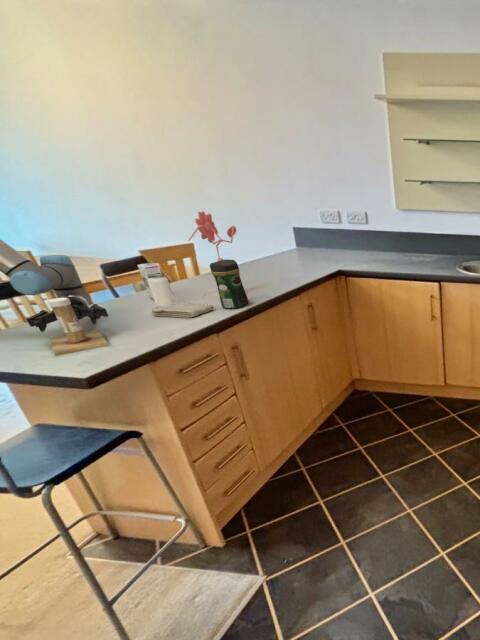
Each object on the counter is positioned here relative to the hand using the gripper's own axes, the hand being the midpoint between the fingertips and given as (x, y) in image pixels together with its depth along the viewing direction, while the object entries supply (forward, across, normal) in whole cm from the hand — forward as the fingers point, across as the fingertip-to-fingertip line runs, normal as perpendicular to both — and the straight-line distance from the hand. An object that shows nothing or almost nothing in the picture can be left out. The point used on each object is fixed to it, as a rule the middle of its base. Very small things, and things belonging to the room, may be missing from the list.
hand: (67, 323), depth 126 cm
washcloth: (-23, -29, -8) cm, 38 cm away
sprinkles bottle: (-4, 0, -7) cm, 8 cm away
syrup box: (-55, -23, -8) cm, 60 cm away
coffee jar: (-22, -46, -8) cm, 52 cm away
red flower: (-45, -46, -8) cm, 65 cm away
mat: (-4, 0, -8) cm, 9 cm away
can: (-39, -25, -8) cm, 47 cm away
